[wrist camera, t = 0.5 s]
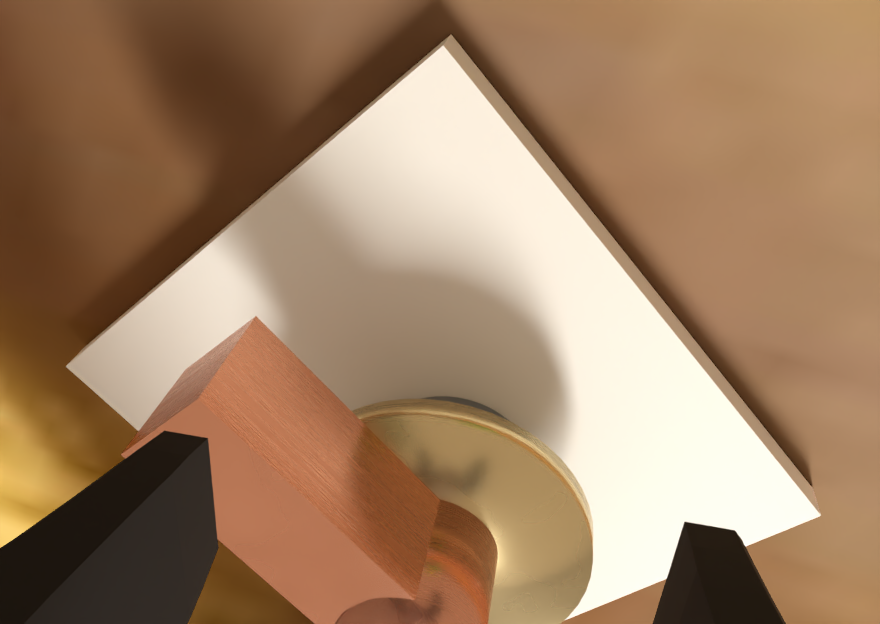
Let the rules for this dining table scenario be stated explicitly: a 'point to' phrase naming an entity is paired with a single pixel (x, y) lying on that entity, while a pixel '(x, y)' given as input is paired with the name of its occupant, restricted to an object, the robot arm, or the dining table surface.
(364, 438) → the lever handle
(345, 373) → the board
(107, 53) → the dining table surface
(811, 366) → the dining table surface
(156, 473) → the robot arm
